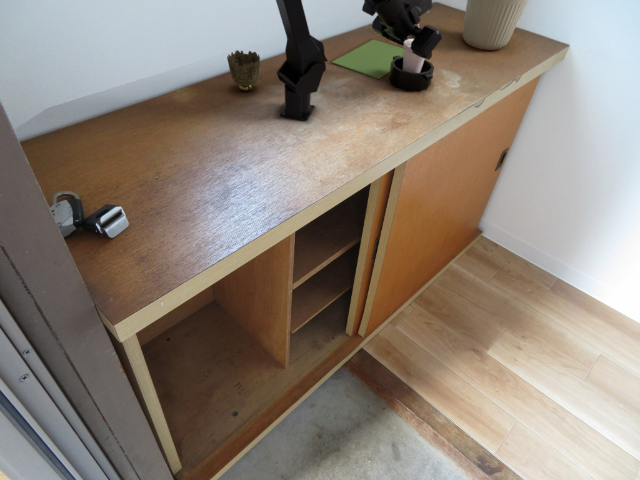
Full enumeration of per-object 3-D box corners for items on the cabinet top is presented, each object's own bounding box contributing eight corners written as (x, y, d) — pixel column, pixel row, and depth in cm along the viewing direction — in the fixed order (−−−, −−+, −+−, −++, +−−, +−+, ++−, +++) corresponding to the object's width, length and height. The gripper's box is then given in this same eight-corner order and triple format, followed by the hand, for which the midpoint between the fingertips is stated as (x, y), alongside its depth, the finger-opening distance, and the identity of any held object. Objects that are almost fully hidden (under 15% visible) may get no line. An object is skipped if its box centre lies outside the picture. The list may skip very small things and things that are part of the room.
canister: (452, 50, 129) (473, -32, 114) (454, 29, 142) (473, -47, 127) (516, 59, 127) (546, -23, 112) (511, 37, 139) (538, -40, 124)
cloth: (379, 79, 113) (379, 78, 113) (331, 63, 119) (331, 61, 119) (418, 54, 126) (418, 52, 126) (373, 40, 132) (373, 39, 132)
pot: (410, 97, 107) (414, 79, 104) (377, 75, 115) (379, 58, 112) (441, 88, 111) (446, 71, 108) (407, 68, 119) (411, 51, 116)
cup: (264, 83, 108) (262, 51, 103) (258, 97, 103) (256, 64, 98) (234, 81, 109) (231, 48, 103) (227, 95, 104) (223, 61, 98)
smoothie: (392, 77, 114) (402, 20, 105) (414, 75, 116) (426, 19, 106) (403, 88, 110) (414, 30, 100) (426, 86, 112) (439, 28, 102)
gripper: (447, -11, 89) (469, 37, 101) (389, -34, 100) (416, 12, 112) (410, 36, 91) (436, 77, 104) (357, 8, 102) (387, 48, 114)
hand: (419, 51), depth 108 cm, fingers open, 8 cm apart
